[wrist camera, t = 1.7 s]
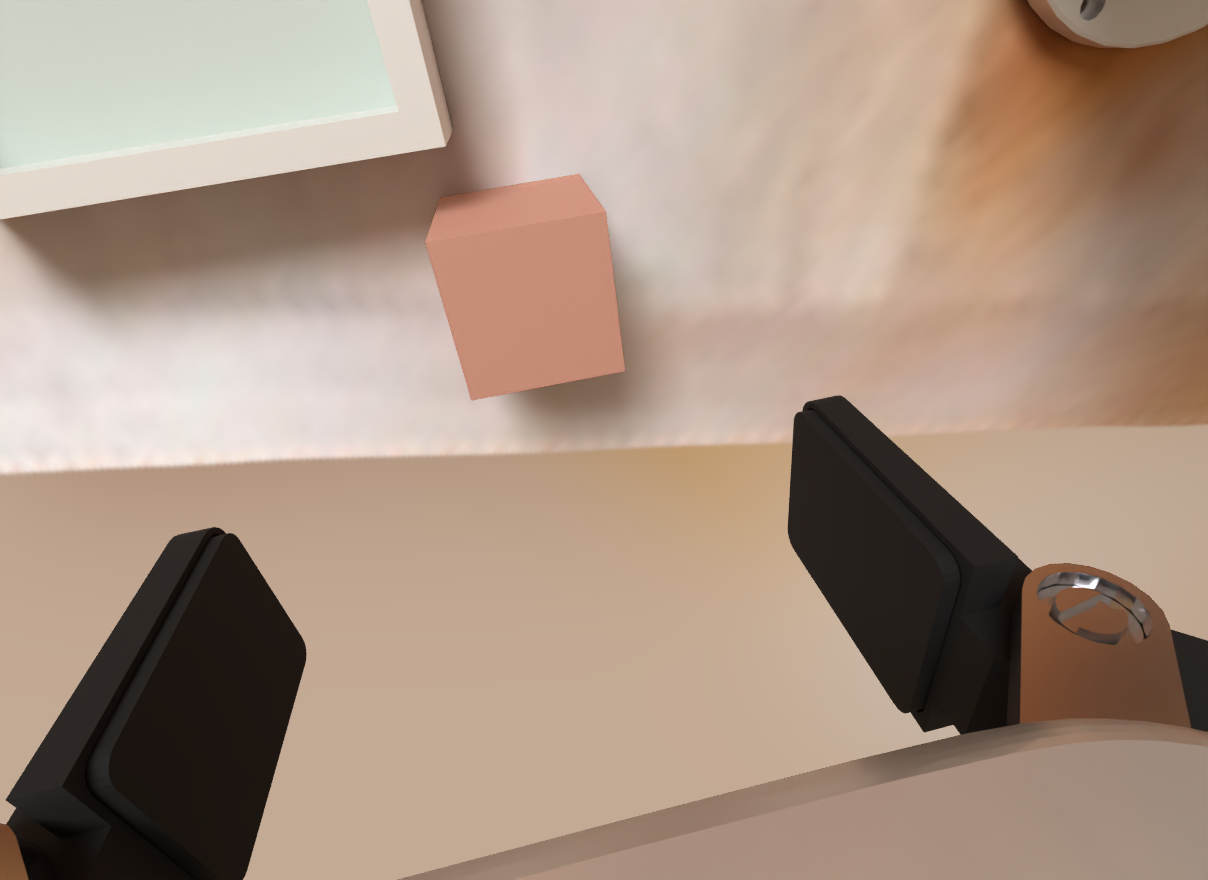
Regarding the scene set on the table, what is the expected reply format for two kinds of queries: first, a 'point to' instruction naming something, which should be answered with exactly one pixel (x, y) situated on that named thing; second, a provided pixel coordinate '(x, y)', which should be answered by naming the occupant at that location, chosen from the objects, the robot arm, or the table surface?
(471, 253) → the pink block
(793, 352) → the table surface
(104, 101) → the tray
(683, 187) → the table surface
